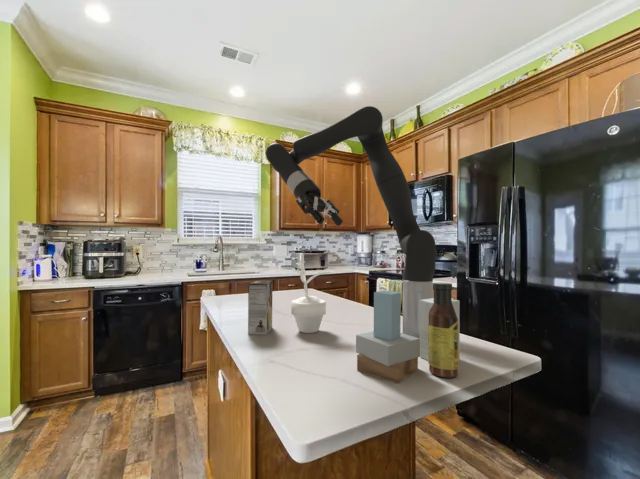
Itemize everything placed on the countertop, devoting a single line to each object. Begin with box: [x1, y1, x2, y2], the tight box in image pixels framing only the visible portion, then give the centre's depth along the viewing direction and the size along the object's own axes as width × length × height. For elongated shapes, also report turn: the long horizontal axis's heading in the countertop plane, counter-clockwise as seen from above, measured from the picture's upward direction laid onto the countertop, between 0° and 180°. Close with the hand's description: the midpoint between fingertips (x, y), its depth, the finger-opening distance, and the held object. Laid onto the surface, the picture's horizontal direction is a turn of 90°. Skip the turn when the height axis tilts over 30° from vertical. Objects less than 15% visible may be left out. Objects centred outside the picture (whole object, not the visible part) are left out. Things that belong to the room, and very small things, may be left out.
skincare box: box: [419, 297, 461, 362], centre depth 78 cm, size 8×6×15 cm
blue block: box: [373, 290, 402, 341], centre depth 71 cm, size 4×4×10 cm
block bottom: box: [356, 353, 419, 384], centre depth 71 cm, size 10×10×4 cm
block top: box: [355, 330, 421, 366], centre depth 71 cm, size 10×10×4 cm
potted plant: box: [290, 257, 331, 334], centre depth 103 cm, size 13×12×25 cm
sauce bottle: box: [428, 282, 460, 379], centre depth 69 cm, size 7×6×20 cm
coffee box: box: [247, 280, 274, 336], centre depth 102 cm, size 9×6×16 cm
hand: (331, 222), depth 90 cm, fingers open, 8 cm apart
